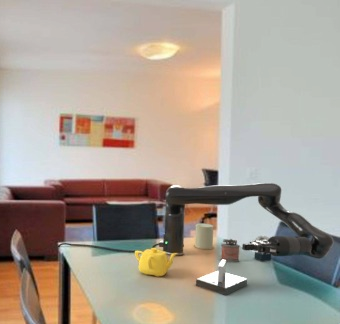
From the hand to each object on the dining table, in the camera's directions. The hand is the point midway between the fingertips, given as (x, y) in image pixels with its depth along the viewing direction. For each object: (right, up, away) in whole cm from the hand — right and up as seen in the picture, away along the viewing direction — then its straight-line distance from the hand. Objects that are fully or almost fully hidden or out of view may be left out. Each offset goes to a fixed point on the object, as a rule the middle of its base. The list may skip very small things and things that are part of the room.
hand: (243, 247), depth 144 cm
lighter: (+7, -14, +34) cm, 37 cm away
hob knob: (-8, -12, +1) cm, 15 cm away
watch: (+24, -14, +38) cm, 47 cm away
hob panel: (-8, -15, +1) cm, 17 cm away
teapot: (-31, -14, +13) cm, 36 cm away
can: (+2, -13, +58) cm, 59 cm away
